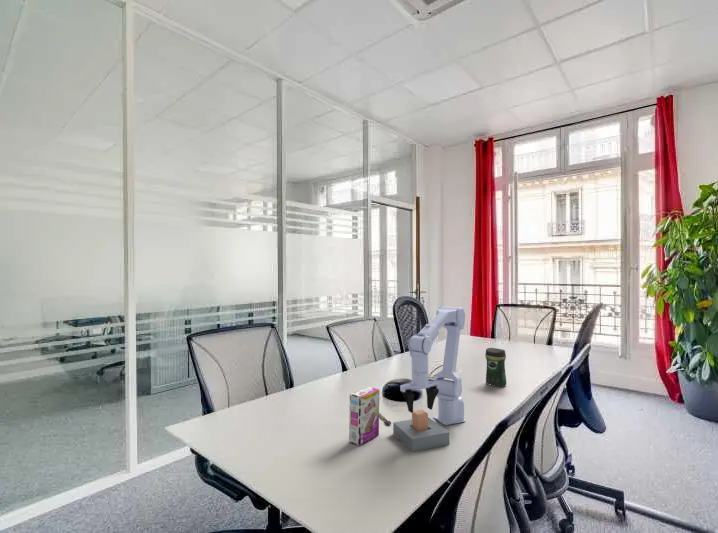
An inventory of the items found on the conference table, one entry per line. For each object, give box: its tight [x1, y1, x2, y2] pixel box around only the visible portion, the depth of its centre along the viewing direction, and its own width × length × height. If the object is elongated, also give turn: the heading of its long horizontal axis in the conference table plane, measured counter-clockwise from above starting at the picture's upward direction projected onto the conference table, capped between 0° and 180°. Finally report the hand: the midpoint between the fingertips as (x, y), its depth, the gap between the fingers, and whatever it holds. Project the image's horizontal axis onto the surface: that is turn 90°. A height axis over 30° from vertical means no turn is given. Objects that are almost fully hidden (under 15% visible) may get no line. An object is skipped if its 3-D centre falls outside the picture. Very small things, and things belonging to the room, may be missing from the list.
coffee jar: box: [484, 347, 507, 388], centre depth 186 cm, size 10×8×19 cm
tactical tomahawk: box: [379, 412, 392, 425], centre depth 146 cm, size 21×7×1 cm, turn 17°
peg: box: [411, 409, 429, 432], centre depth 126 cm, size 4×4×9 cm
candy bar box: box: [348, 386, 380, 447], centre depth 126 cm, size 11×5×16 cm, turn 141°
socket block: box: [392, 417, 450, 452], centre depth 126 cm, size 14×14×4 cm
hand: (420, 410), depth 126 cm, fingers open, 7 cm apart
